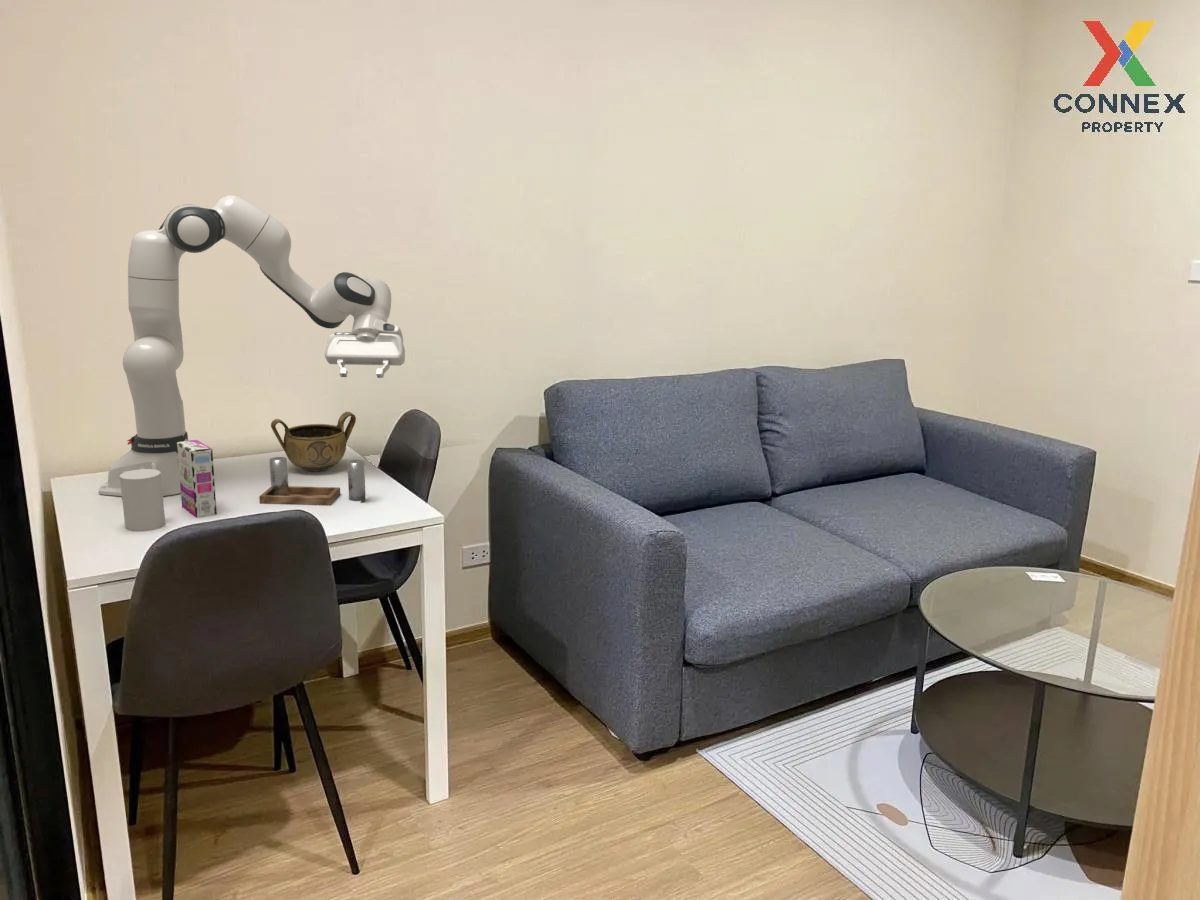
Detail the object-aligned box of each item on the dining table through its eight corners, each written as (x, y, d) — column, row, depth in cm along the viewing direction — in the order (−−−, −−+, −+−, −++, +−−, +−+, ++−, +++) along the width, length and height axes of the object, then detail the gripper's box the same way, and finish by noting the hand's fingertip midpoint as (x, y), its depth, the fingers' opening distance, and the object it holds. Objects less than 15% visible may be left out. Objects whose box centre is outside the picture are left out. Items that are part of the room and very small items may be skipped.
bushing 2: (347, 503, 229) (345, 463, 226) (351, 498, 233) (349, 459, 230) (363, 503, 229) (361, 464, 226) (367, 498, 233) (366, 460, 230)
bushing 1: (269, 500, 227) (267, 460, 225) (275, 495, 231) (272, 456, 229) (285, 500, 227) (283, 461, 225) (291, 496, 231) (289, 457, 229)
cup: (171, 519, 214) (166, 469, 211) (156, 531, 206) (151, 479, 203) (135, 519, 213) (130, 468, 210) (118, 531, 205) (112, 478, 202)
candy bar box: (218, 516, 217) (213, 448, 213) (196, 520, 213) (190, 451, 209) (202, 504, 225) (197, 438, 221) (181, 508, 222) (175, 441, 218)
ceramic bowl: (348, 457, 271) (346, 406, 267) (365, 471, 256) (363, 418, 253) (268, 465, 259) (265, 413, 256) (282, 481, 245) (278, 425, 242)
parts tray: (259, 505, 225) (259, 496, 224) (272, 494, 234) (272, 485, 233) (330, 507, 225) (329, 498, 224) (340, 496, 234) (340, 487, 233)
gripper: (326, 324, 243) (317, 368, 236) (405, 326, 243) (398, 369, 236) (332, 339, 248) (323, 382, 241) (409, 341, 248) (402, 384, 241)
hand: (361, 376), depth 238 cm, fingers open, 8 cm apart
